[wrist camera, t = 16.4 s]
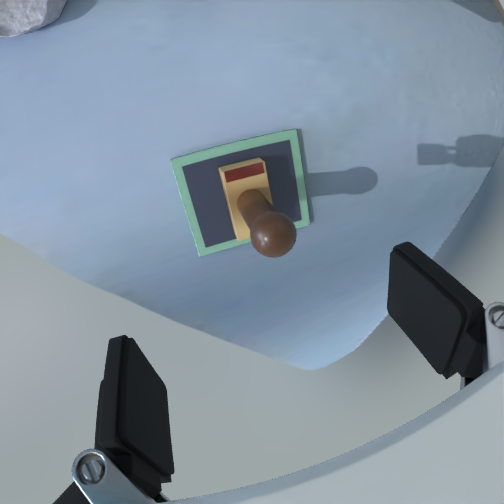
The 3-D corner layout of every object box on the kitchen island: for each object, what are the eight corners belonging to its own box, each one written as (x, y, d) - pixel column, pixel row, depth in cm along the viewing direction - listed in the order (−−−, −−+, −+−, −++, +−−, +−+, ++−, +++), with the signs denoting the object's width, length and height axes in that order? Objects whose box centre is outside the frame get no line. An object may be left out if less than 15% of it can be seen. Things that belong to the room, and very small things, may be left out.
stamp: (271, 221, 37) (312, 277, 26) (234, 232, 36) (261, 293, 26) (258, 156, 33) (301, 188, 22) (218, 166, 32) (241, 204, 22)
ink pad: (294, 128, 33) (296, 129, 32) (308, 223, 39) (310, 225, 38) (170, 159, 31) (170, 160, 31) (199, 254, 37) (199, 257, 37)
